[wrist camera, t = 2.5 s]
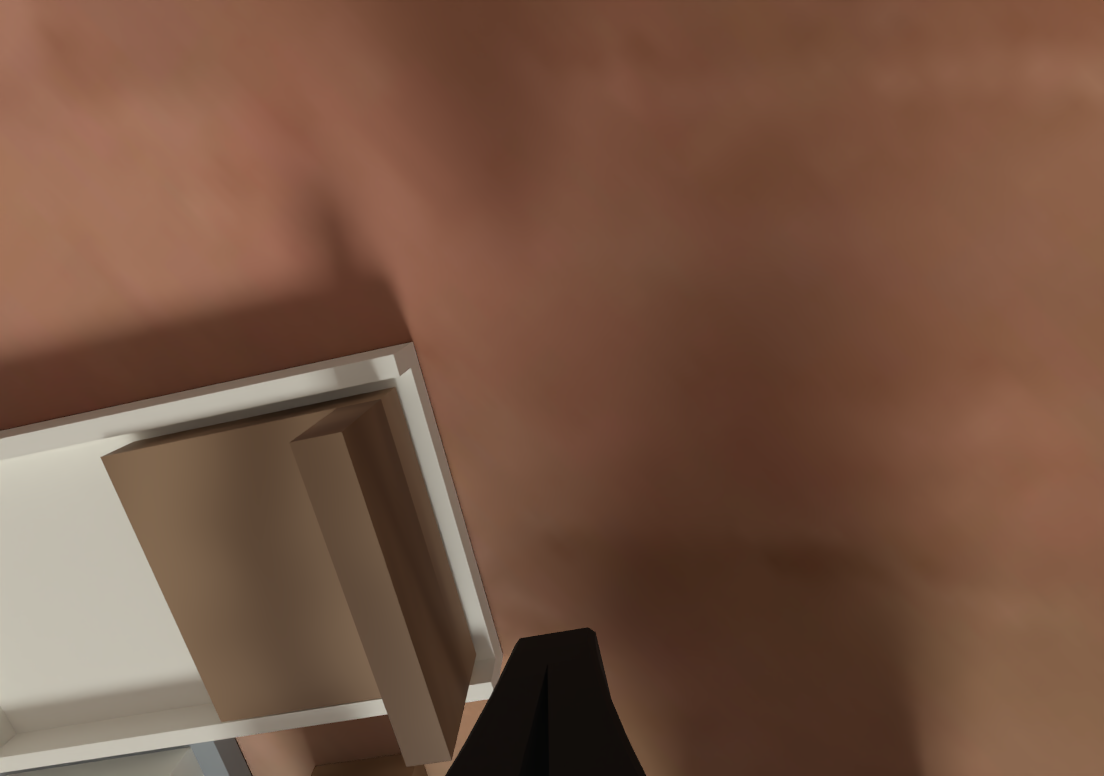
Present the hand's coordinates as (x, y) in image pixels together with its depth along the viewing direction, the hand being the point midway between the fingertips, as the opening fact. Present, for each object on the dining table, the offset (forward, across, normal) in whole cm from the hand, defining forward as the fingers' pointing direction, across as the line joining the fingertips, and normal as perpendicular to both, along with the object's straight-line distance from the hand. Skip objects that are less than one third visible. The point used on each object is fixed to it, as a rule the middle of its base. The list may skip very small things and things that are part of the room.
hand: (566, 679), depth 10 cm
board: (+8, +12, 0) cm, 15 cm away
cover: (+7, +8, 0) cm, 10 cm away
